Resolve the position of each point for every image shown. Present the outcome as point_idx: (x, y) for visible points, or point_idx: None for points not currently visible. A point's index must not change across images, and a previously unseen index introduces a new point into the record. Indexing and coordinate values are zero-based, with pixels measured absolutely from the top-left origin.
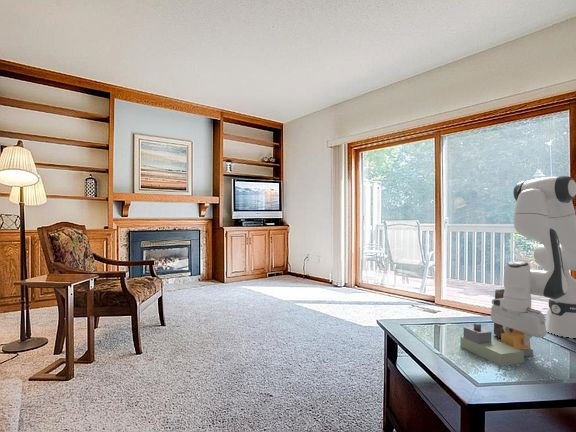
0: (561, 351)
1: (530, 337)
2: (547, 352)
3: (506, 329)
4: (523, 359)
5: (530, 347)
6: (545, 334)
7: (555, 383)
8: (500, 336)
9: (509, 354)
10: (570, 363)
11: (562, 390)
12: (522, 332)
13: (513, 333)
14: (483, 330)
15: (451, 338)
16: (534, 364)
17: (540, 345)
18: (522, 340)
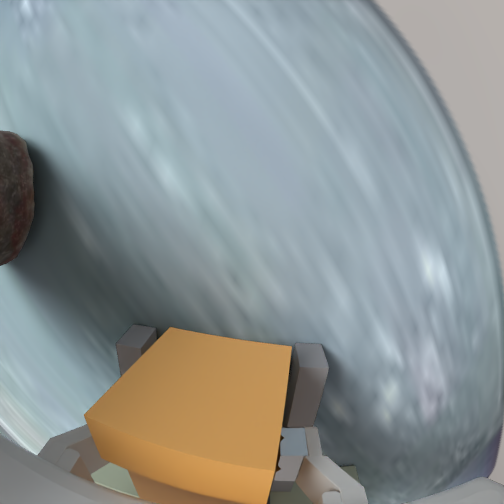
0: (350, 39)
1: (350, 483)
2: (333, 166)
3: (85, 464)
4: (358, 478)
5: (291, 348)
6: (500, 494)
7: (470, 463)
8: (11, 260)
9: None
10: (492, 241)
11: (482, 468)
12: (233, 489)
13: (180, 491)
14: None
15: (39, 446)
16: (392, 439)
17: (194, 57)
18: (285, 475)
